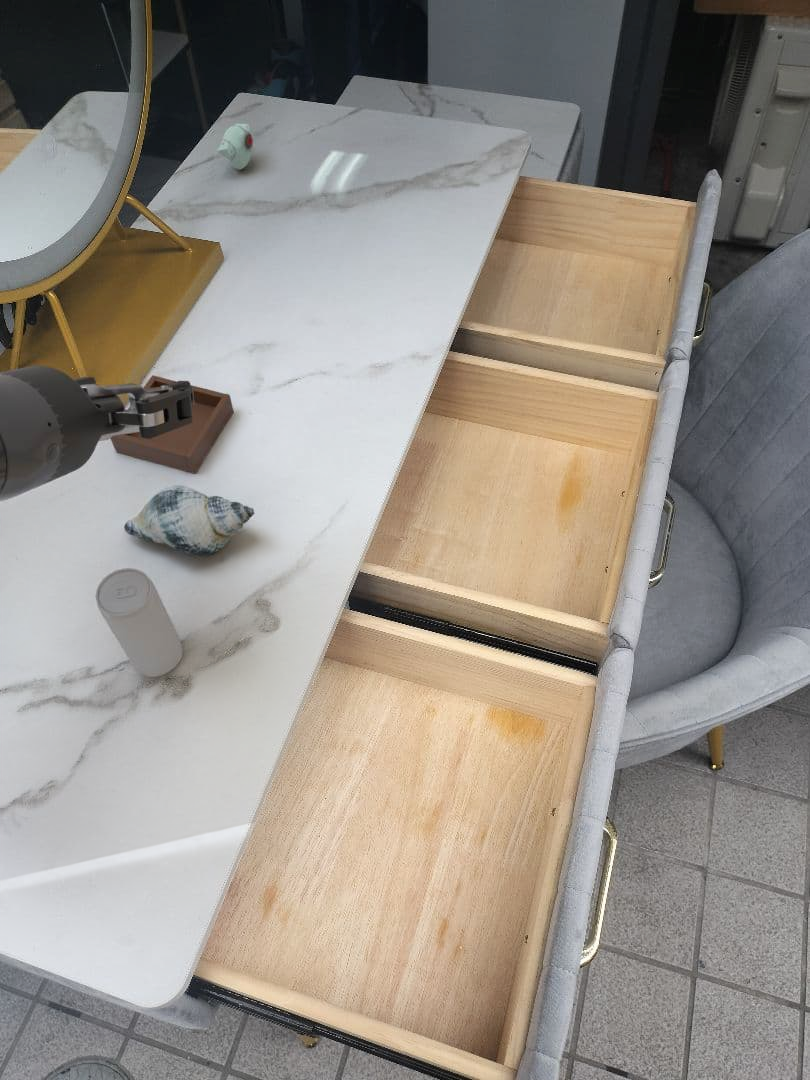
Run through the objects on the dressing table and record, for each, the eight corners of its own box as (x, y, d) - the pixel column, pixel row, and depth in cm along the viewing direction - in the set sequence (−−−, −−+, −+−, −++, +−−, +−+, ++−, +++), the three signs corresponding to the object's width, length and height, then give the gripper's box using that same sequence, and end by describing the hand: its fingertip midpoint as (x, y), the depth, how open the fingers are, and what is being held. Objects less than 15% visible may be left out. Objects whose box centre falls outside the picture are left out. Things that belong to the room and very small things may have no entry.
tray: (116, 452, 92) (108, 435, 89) (158, 392, 97) (152, 374, 95) (195, 474, 90) (190, 457, 88) (234, 411, 95) (229, 394, 93)
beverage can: (131, 639, 78) (93, 572, 68) (182, 629, 79) (151, 561, 69) (133, 684, 76) (94, 621, 66) (186, 673, 76) (154, 610, 66)
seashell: (168, 507, 89) (256, 553, 86) (117, 534, 83) (209, 585, 80) (171, 456, 86) (263, 502, 82) (118, 481, 80) (215, 532, 76)
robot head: (242, 152, 126) (235, 108, 121) (266, 158, 126) (260, 114, 120) (218, 180, 122) (209, 136, 117) (242, 185, 121) (235, 141, 116)
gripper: (99, 378, 49) (216, 347, 64) (-101, 370, 52) (55, 342, 67) (114, 498, 52) (223, 440, 66) (-77, 484, 55) (68, 432, 69)
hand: (139, 391), depth 67 cm, fingers open, 8 cm apart
